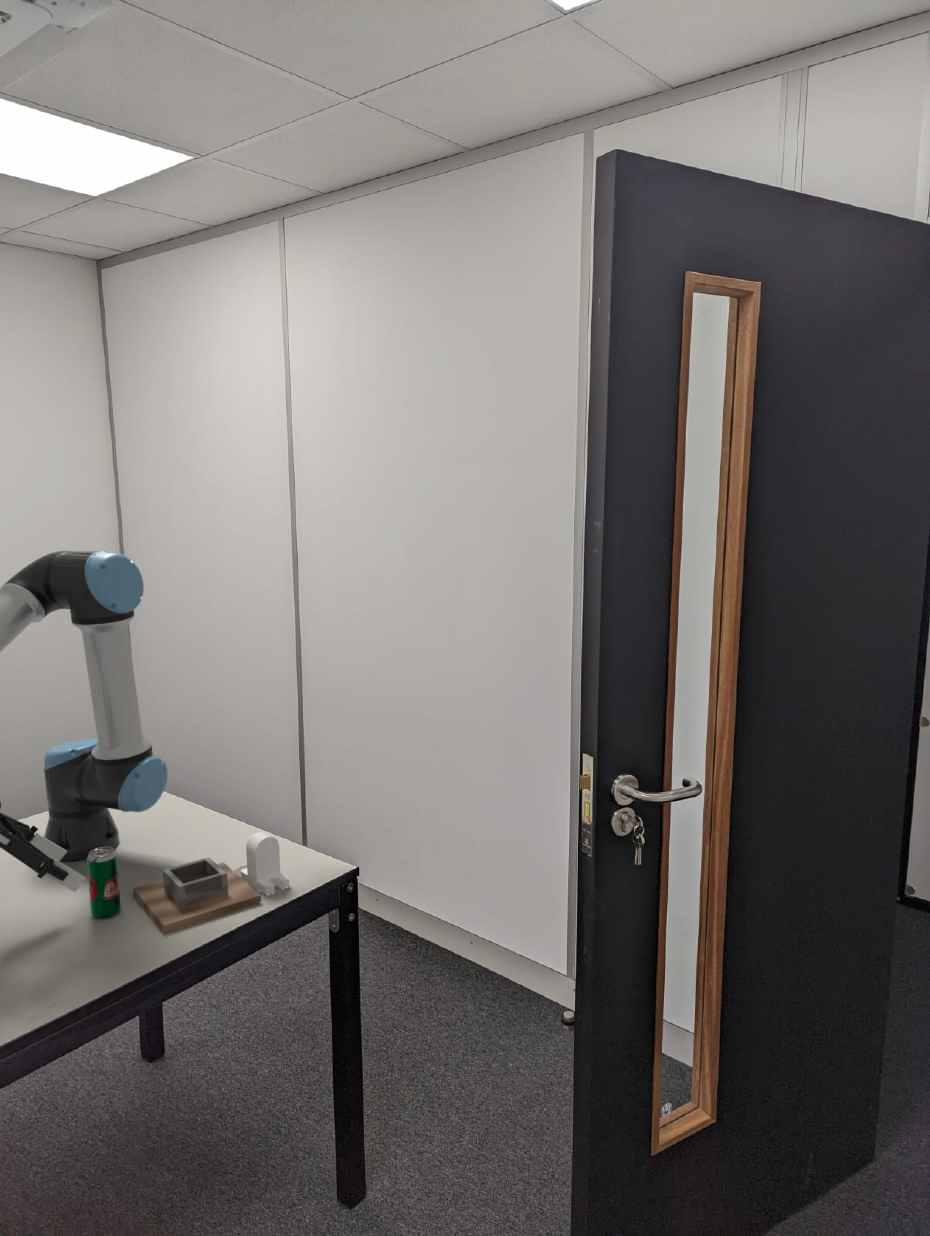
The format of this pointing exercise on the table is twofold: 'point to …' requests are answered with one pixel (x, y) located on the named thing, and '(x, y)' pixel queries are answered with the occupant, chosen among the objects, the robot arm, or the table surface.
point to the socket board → (194, 894)
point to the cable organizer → (263, 864)
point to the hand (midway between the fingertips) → (70, 870)
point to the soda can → (103, 882)
